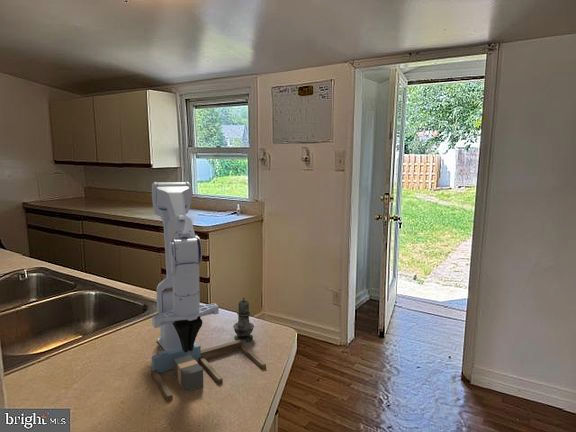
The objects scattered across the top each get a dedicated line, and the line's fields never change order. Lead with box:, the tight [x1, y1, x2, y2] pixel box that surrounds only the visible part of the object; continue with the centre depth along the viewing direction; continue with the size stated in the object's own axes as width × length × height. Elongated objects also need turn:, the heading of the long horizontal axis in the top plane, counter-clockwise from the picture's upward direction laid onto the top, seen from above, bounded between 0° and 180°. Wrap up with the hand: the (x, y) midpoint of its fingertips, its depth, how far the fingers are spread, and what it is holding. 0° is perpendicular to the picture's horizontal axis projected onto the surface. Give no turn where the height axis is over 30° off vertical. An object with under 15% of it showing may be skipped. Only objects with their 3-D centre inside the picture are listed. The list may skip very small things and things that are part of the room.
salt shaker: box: [232, 297, 255, 343], centre depth 110 cm, size 6×6×12 cm
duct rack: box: [151, 340, 267, 402], centre depth 93 cm, size 13×24×5 cm, turn 125°
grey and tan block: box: [173, 355, 204, 393], centre depth 89 cm, size 8×4×4 cm, turn 35°
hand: (187, 349), depth 88 cm, fingers closed
